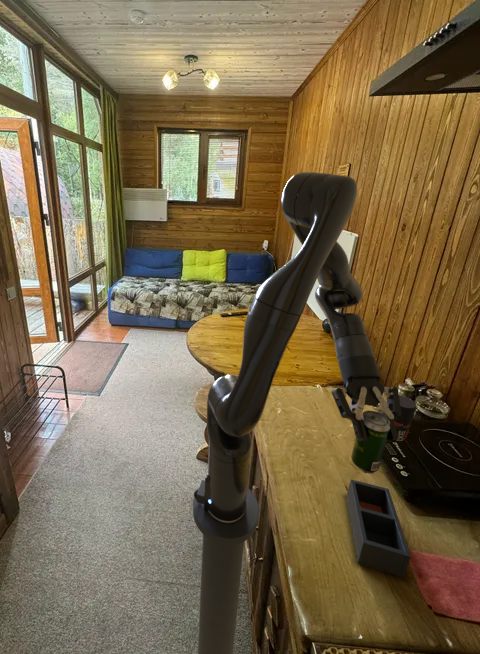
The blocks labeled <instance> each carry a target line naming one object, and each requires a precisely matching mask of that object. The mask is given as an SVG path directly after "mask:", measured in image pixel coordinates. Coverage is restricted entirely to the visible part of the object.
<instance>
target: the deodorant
mask: <svg viewBox="0 0 480 654" xmlns="http://www.w3.org/2000/svg"><path fill="white" fill-rule="evenodd" d="M399 400H400V407H401V415H400V416H397V417H395V418H394V424H395V428H396V431H397V436H396V441H403V440H405V439H406V440H407V437H408V434H409V431H410V428H411V424H412V420H413V416H414V413H415V410H416V407H417V404H416V403H415V402H414V400H412V399H411V398H409V397H407V396H405V395H400V394H399Z"/></svg>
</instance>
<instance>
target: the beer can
mask: <svg viewBox="0 0 480 654" xmlns="http://www.w3.org/2000/svg"><path fill="white" fill-rule="evenodd" d="M361 421H363V422H364V426H365V430H366V434H367V437H368V440H367V441H359V439H358V438H357V437H356V436H355V438H354V443H353V447H352V451H351V452H352V453H351V456H350V457H351V462H352V464H353V465H354V467H355V469H357V470H359V471H361V472H362V473H364V474H365V473H366V474H369V475H370V474H371V475H373V474H375V473H377V472H378V471H379V470H380V467H381V464H382V460H383V456H384V453H385V450H386V449H385V445H386V442H387V438H388V434H389V431H390V421H389V419H388V418H387V417H386V416H384V415H383V414H381V413H378V412H377V411H375V410H365V411H362V419H361Z"/></svg>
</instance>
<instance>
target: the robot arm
mask: <svg viewBox="0 0 480 654" xmlns="http://www.w3.org/2000/svg"><path fill="white" fill-rule="evenodd" d="M357 195H358V184H357V182H356V180H355V179H354V178H353V177H351V176H348V175H342V174H333V173H325V172H317V171H316V172H314V171H301V172H297V173H296V174H294V175H292V176H291V177H290V179H289V180H288V181H287V183H286V185H285V187H284V188H283V192H282V194H281V204H280V205H281V210H282V214H283V216H284V219H285V220H286V222H287V224H288V225H289V227H290V228H291V230H292V231H293V233H294V234H295V236H296V238H297V240H298V241H299V243H300V244H301V247H300V248H299V250H298V251H297V252H296V254H295V255H294V256H293V257H292V258H291V259H290V260H289V261H287V262H286V263H285V264H284V265H282V266H281V267H280V268H278V269H277V270H276V271H275V272H273V273H272V274H271V275H269V277H267V278H266V279H265V280H264V281H263V282H262V283H261V284H260V285H259V287H258V288H257V290H256V292H255V294H254V297H253V299H252V301H251V304H250V305H249V309H248V312H247V315H246V317H245V322H244V327H243V339H242V340H243V341H242V354H241V364H240V368H239V371H238V374H237V375H235V374H226V375H225V374H224V375H222V376H219V377H218V378H217V379H215V380H214V382H213V383H212V385H210V388H209V390H208V393H207V399H206V430H207V436H208V458H207V459H208V461H207V472H206V475H205V478H204V480H203V479H201V480H200V484H199V486H198V488H199V489H198V488H197V489H196V490H194V492H193V498H194V497H195V499H196V500H197V502H198V503H201V504H204V511H206V512H208V513H209V514H210V516H211V517H212V518H213V519H214V520H216V521H217V522H219V523H222V524H234V523H236V522H238V521H240V520H241V519H242V518H243V516H244V514H245V511H246V497H247V490H248V488H249V486H248V485H249V474H250V465H251V457H252V456H251V454H252V445H253V442H252V441H253V440H252V435H251V432H252V431H253V430H254V429H255V428H256V427H257V425H258V424H259V422H260V420H261V418H262V415H263V412H264V410H265V407H266V405H267V400H268V398H269V394H270V391H271V388H272V385H273V382H274V379H275V376H276V374H277V371H278V369H279V367H280V365H281V362H282V359H283V357H284V355H285V352H286V350H287V348H288V345H289V343H290V341H291V338H292V337H293V334H294V332H296V329H297V327H298V324H299V322H300V319H301V318H302V315H303V313H304V310H305V308H306V305H307V302H308V299H310V298H309V297H310V295H311V294H312V291H313V289H314V286H315V285H316V282H318V284H319V285H318V286H317V288H316V289H315V292H314V297H315V300H316V303H317V304H318V306H319V308H320V309H321V311H322V313H323V315H324V316H325V318H326V320H327V322H328V325H329V327H330V330H331V334H332V338H333V343H334V350H335V355H336V361H337V364H338V367H339V372H340V376H341V380H342V381H343V387H337V388H335V389H332V390H331V395H332V397H333V400H334V401H335V402H334V403H335V404H336V408H337V410H338V413H339V414H340V417H341V418H342V419H347V420H349V421H350V422H351V424H352V426H353V431H354V436H355V438H356V437H357V438H358V439H359V441H367V440H368V437H367V434H366V430H365V426H364V422H363V421H361V419H362V414H363V412H364V411H363V410H364V409H365V406H369V407H372V409H373V411H375V412H378V413H381V414H383V415H384V416H386V417H387V418H388V419H389V421H390V431H389V434H388V438H387V440H396V436H397V431H396V428H395V424H394V418H395V417H397V416H400V415H401V407H400V400H399V395H400V394H399V389H398V387H396V386H392V387H390V386H384V384H383V383H382V382H381V373H380V369H379V366H378V363H377V361H376V357H375V354H374V351H373V347H372V344H371V342H370V340H369V337H368V335H367V332H366V329H365V325H364V321H363V319H362V317H361V316H360V314H358V313H353V312H339V311H337V310H341V309H346V308H351V307H355V306H357V305H358V304H360V303H361V301H362V300H363V297H364V295H363V293H364V292H363V289H362V287H361V285H360V283H359V281H358V280H357V279H356V278H355V277H354V275H353V274H352V273H351V268H350V263H349V259H348V255H347V253H346V252H345V251H346V250H344V247H342V246H341V245H340V243H339V242H338V239H339V238H340V236H341V234H342V232H343V230H344V229H345V227H346V225H347V223H348V221H349V219H350V217H351V215H352V212H353V210H354V207H355V204H356V201H357ZM347 396H348V397H349V398H350V404H349V402H348V400H347V398H346V397H347ZM383 396H384V397H385V398H386V399H385V398H384V397H383Z"/></svg>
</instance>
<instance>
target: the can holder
mask: <svg viewBox="0 0 480 654" xmlns="http://www.w3.org/2000/svg"><path fill="white" fill-rule="evenodd" d="M345 497H346V503H347V509H348V514H349V520H350V521H349V522H350V527H351V532H352V538H353V543H354V549H355V554H356V561H357V564H360V565H362V566H366V567H368V568H372V569H375V570H378V571H381V572H385V573H388V574H391V575H394V576H397V577H401V578H405V576H406V573H407V570H408V567H409V564H410V561H411V558H412V555H411V553H410V549H409V547H408V543H407V540H406V537H405V534H404V532H403V528H402V525H401V523H400V518H399V516H398V514H397V510H396V507H395V504H394V501H393V498H392V494H391V492H390V489H389V488H387V487H382V486H379V485H375V484H372V483H367V482H363V481H359V480H355V479H350V480H349V485H348V489H347V493H346V496H345Z"/></svg>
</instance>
